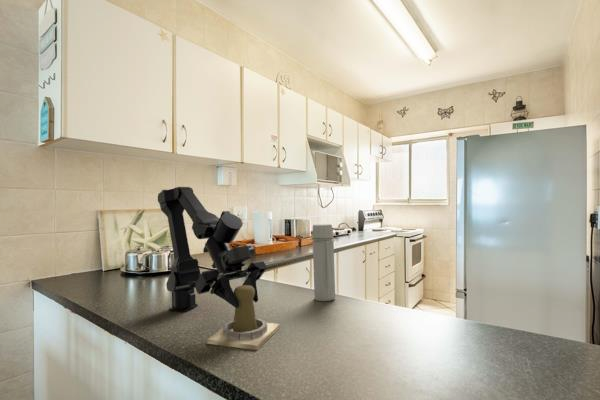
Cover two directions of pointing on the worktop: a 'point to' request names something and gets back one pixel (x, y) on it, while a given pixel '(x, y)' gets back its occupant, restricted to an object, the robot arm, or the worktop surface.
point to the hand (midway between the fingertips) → (247, 304)
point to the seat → (244, 335)
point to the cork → (244, 309)
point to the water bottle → (323, 262)
